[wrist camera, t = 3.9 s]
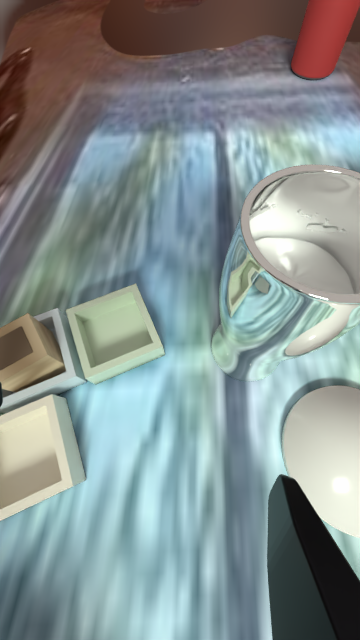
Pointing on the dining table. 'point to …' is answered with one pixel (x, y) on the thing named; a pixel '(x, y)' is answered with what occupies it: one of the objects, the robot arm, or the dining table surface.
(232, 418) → the dining table surface
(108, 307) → the sage dish
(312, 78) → the beer can
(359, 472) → the stone coaster
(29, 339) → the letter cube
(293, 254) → the beer glass
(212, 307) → the dining table surface
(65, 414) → the cream dish
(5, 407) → the pale blue dish
